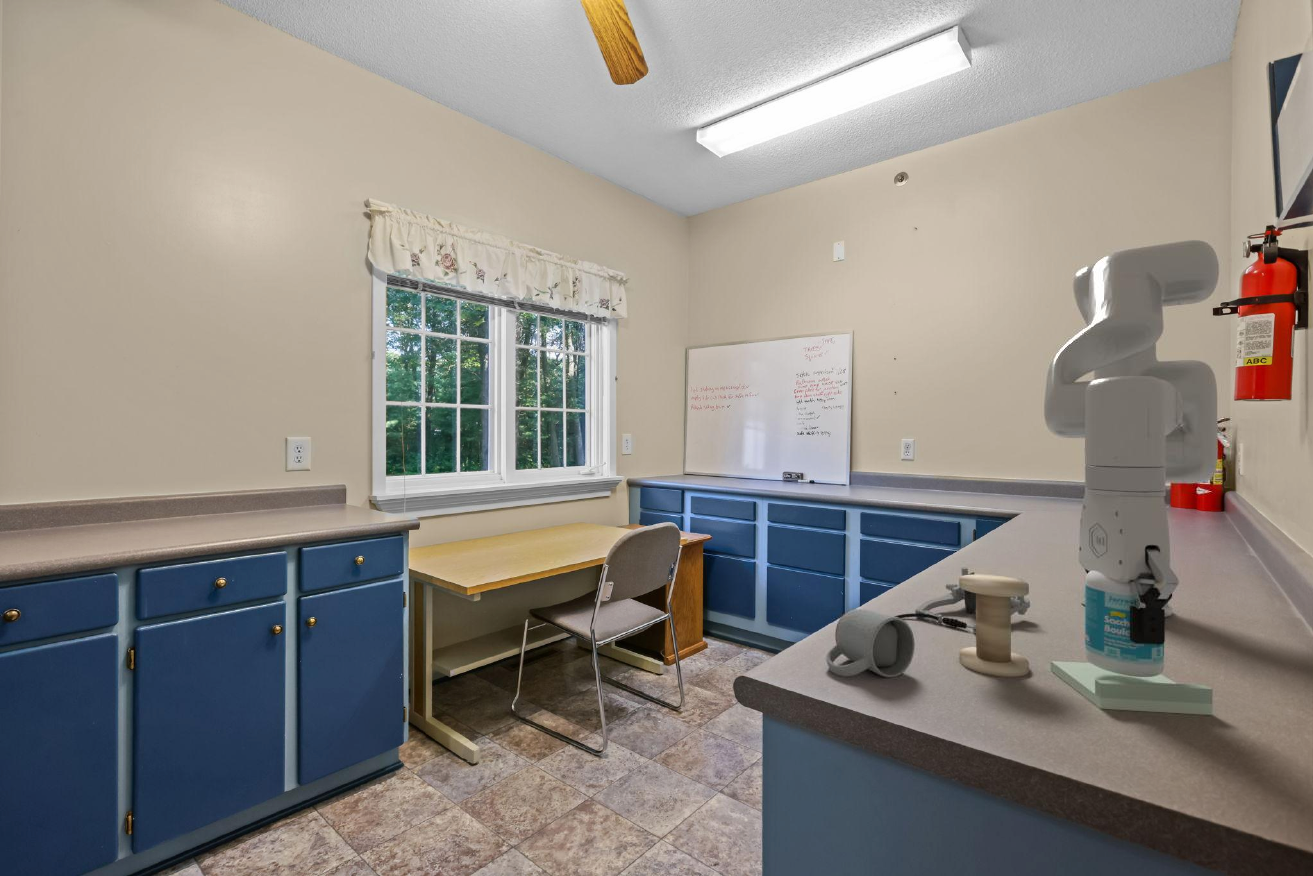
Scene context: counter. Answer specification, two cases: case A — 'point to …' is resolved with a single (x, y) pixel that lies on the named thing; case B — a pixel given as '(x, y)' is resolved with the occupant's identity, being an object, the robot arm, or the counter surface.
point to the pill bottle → (1116, 630)
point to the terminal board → (1134, 690)
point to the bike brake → (959, 594)
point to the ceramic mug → (872, 644)
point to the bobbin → (993, 626)
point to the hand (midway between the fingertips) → (1124, 630)
